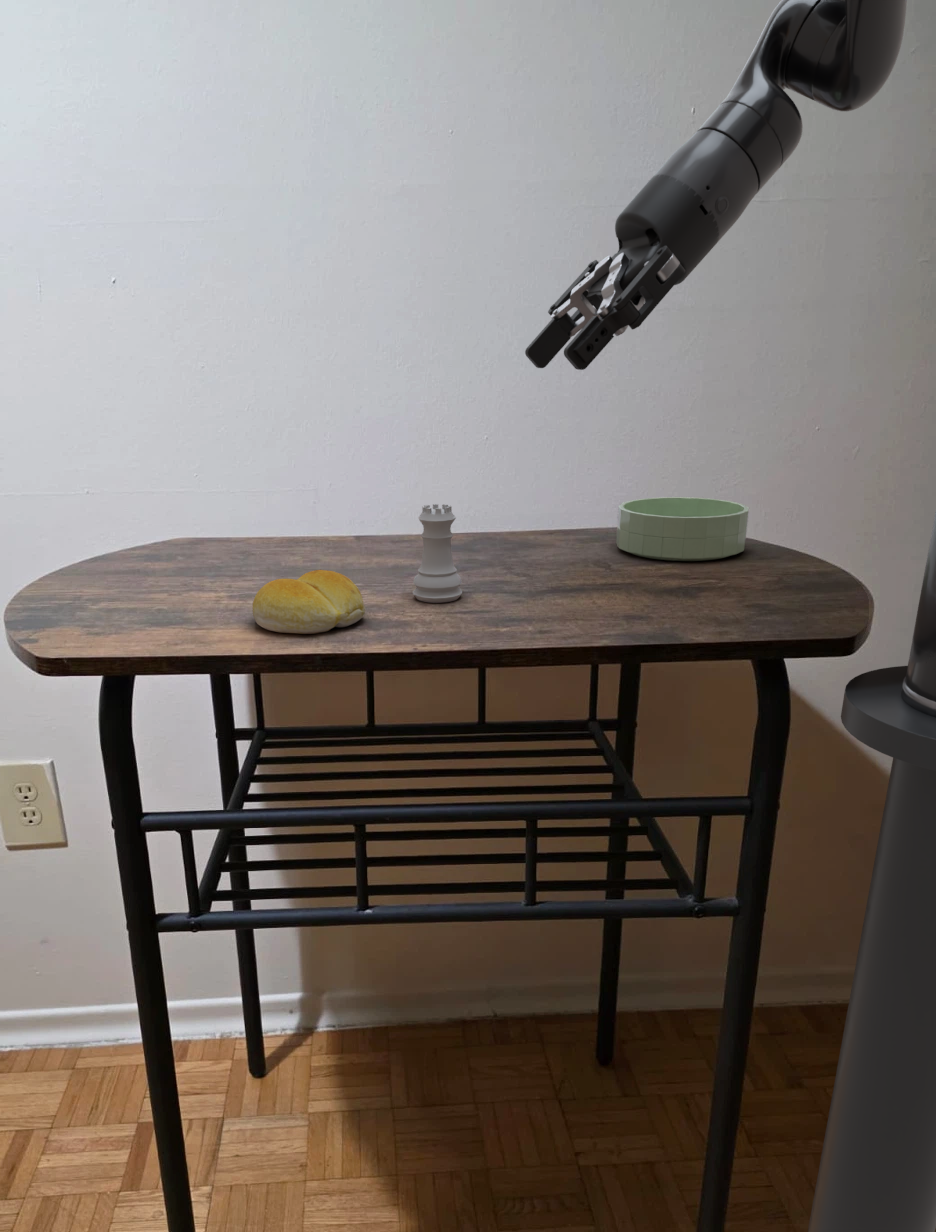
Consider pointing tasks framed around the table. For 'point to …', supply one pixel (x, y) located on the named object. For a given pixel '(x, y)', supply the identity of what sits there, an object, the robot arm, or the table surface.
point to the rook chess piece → (437, 558)
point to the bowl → (682, 528)
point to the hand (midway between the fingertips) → (551, 361)
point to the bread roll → (308, 603)
